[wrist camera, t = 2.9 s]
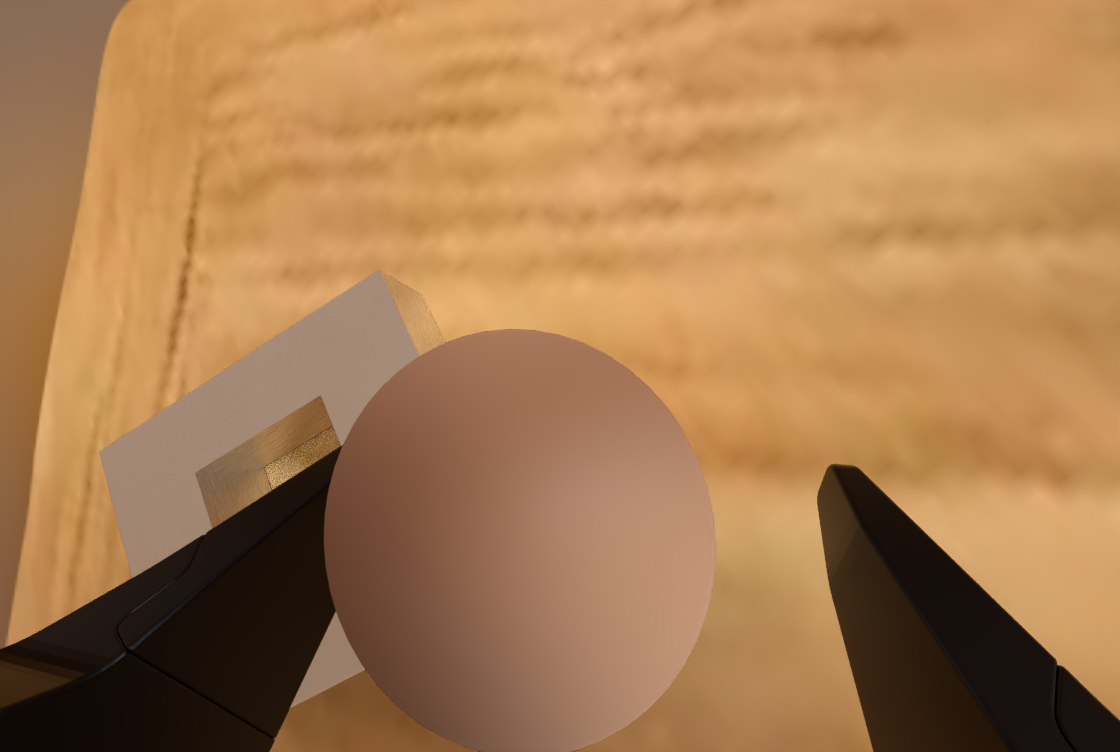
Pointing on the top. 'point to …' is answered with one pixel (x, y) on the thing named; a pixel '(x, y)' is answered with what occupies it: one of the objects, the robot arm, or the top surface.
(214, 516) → the square hole block
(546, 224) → the top surface
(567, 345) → the beech pin
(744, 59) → the top surface
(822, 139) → the top surface
